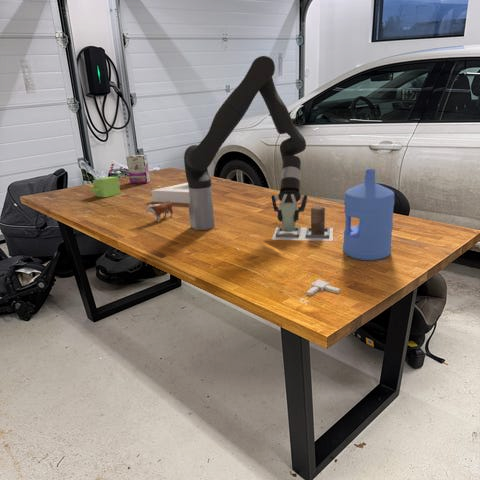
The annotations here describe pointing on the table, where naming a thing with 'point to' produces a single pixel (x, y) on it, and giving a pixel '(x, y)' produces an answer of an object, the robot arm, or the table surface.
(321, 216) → the walnut column
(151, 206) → the bull figurine
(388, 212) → the water jug
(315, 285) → the corner connector
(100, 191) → the gearbox
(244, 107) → the robot arm
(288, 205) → the sage column
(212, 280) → the table surface
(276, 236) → the base plate
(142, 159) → the candy bar box
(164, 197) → the triangle block
